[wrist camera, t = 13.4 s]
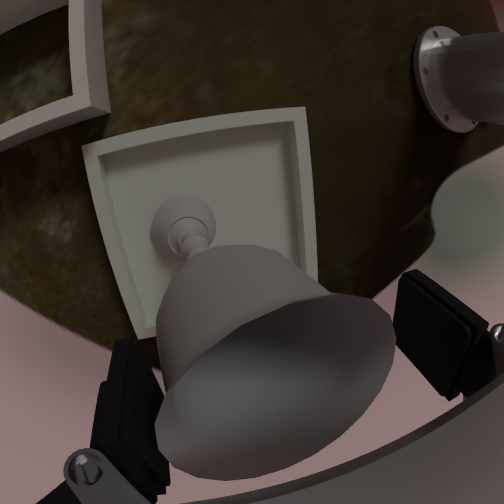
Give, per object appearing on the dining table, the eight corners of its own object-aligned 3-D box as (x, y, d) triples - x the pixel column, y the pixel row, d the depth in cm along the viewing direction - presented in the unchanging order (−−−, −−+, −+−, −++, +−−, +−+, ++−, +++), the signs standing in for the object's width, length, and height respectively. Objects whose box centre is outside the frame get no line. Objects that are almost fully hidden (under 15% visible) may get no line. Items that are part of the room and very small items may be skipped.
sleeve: (101, -16, 15) (86, -49, 9) (110, 112, 19) (90, 106, 14) (-19, 36, 13) (-53, 23, 7) (-12, 158, 17) (-52, 168, 12)
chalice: (181, 288, 25) (263, 490, 9) (119, 233, 22) (98, 442, 6) (246, 224, 25) (416, 362, 9) (188, 162, 22) (332, 225, 6)
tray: (292, 108, 23) (305, 106, 20) (307, 284, 29) (318, 297, 27) (90, 144, 20) (81, 145, 18) (140, 323, 26) (138, 339, 24)
